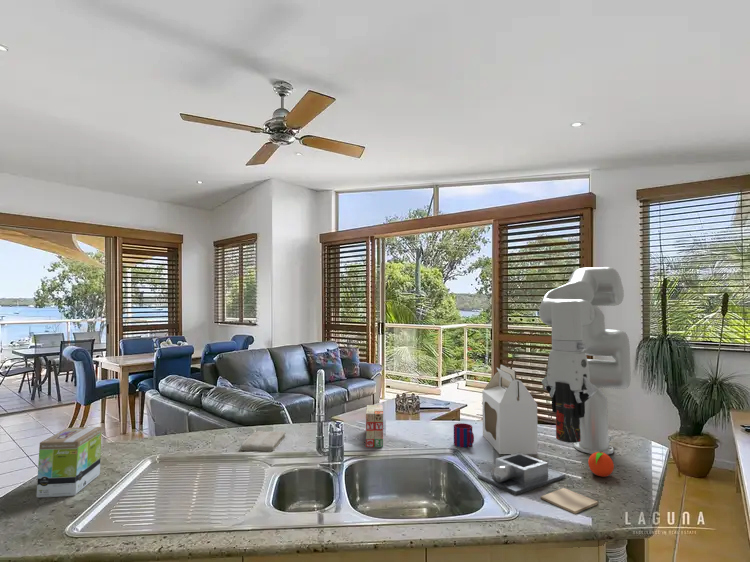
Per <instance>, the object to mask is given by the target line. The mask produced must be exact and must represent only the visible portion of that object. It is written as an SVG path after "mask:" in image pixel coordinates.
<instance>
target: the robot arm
mask: <svg viewBox="0 0 750 562" xmlns="http://www.w3.org/2000/svg"><path fill="white" fill-rule="evenodd" d="M624 293H625V292H624V287H623V283H622V278H621V277H620V274H619V272H618V271H617V270H616V269H615V268H614V267H610V266H603V267H602V266H601V267H600V266H599V267H598V266H597V267H581V268H577V269H575V270H573V272H572V273H571V275H570V277H569V279H568V281H567V283H566V284H563V285H561V286H558V287H556V288H553V289H551V290H548V292H547V293H545V294H544V296H543V298H542V299H541V303H540V306H539V308H538V315H539V319H540V320H541V322H542V323H543V324H545V325H547V326H551V350H550V351H549V355H548V361H547V374H546V376H545V377H544V378H542V379H541V384H542V385H543V386H544V388H545V389H546V391H547V392H548V393H549V397H550V398H551V412H552V413H554V414H556V398H555V382H560V383H565V384H569V385H570V389H571V390H572V391H574V395H575V398H576V401H577V402H575V418H580V437H581V441H580V442H577V443H573V448H574V449H576V450H577V451H580V452H582V453H586V454H589V455H592V454H593V453H595V452H603V453H605V454H607V455H608V456H609V455H612V454H613V453H614V448H613V446H611V445H610V442H612V441H613V440H614V439H615V437H614V435H613V434H609V402H608V399H607V397H606V395H605V393H604V392H603V391H602V389H601V388H604V389H613V390H614V389H615V390H625V389H628V388H629V387H630V385H631V377H632V376H631V349H630V346H631V345H630V339H629V336H628V334H627V333H626V331H623V330H621V329H620V330H619V329H606V325H605V314H604V312H603V311H602V310H601V308H600V306H602V307H603V306H606V307H610V306H611V307H615V306H619V305H620V304H621V303H622V302H623V301H624V296H625V294H624ZM587 356H592V357H594V356H595V357H603V358H605V357H606V358H613V359H614V360H607V359H606V360H604V359H591V358H587Z"/></svg>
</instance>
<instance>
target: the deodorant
mask: <svg viewBox="0 0 750 562" xmlns="http://www.w3.org/2000/svg"><path fill="white" fill-rule="evenodd" d="M555 398H556V413H555V438H556V440H557V441H560V442H563V443H571V444H574V443H577V442H580V441H581V437H580V418H575V402H577V401H576V398H575V395H574V391H572V390H571V389H570V385H569V384H565V383H560V382H555Z"/></svg>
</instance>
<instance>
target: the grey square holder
mask: <svg viewBox="0 0 750 562" xmlns="http://www.w3.org/2000/svg"><path fill="white" fill-rule="evenodd" d="M477 478H478V479H479V480H483V481H484V482H487V483H488V484H490V485H492V486H495V487H498V488H499V489H501V490H504V491H505V492H508V493H510V494H513V495H515V496H517V495H521V494H523V493H526V492H528V491H531V490H535V489H537V488H540V487H543V486H546V485H549V484H552V483H555V482H557V481H560V480H563V479H565V478H566V474H565V473H563V472H560V471H557V470H555V469H552V468H549V463H548V461H547V462H546V461H544V460H542V459H539V458H536V457H533V456H532V455H531V456H530V455H529V454H522V453H520V452H518V453H514V454H511V455H504V456H501V457H497V458H495V467H493V468H491V469H490V470H488V471H485V472H480V473H478V474H477ZM554 481H555V482H554Z"/></svg>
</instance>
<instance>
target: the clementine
mask: <svg viewBox="0 0 750 562" xmlns="http://www.w3.org/2000/svg"><path fill="white" fill-rule="evenodd" d="M587 463H588V467H589V470H590V471H591V472H592V473H593V474H594V475H595V476H598V477H604V478H605V477H608V476H610V475H611V474H612V473H613V472H614V468H615V466H614V465H615V463H614V461H613V459H612V458H611V457H610V455H609V454H608V455H607V454H605V453H603V452H595V453H593V454H590V456H589V457H588V461H587Z"/></svg>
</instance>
